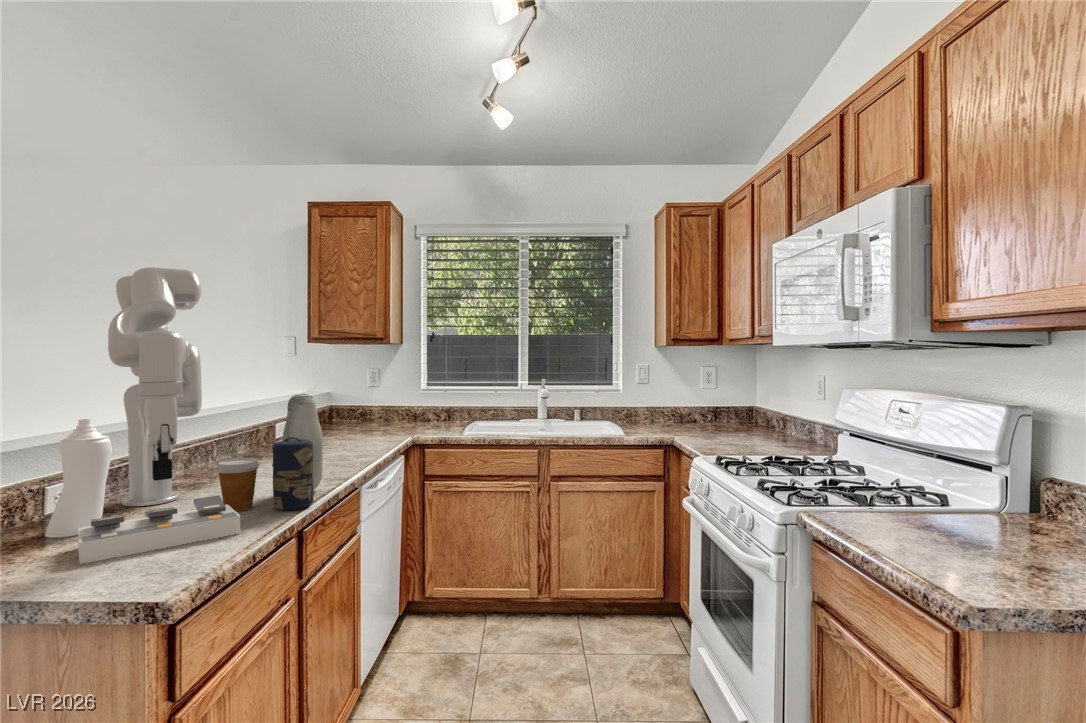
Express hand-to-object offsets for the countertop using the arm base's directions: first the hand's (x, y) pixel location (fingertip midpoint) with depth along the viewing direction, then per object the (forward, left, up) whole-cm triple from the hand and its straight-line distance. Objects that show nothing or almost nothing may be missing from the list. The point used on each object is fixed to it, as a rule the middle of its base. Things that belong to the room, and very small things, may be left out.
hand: (162, 478), depth 116 cm
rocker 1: (-3, -9, -8) cm, 12 cm away
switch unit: (-2, 0, -13) cm, 13 cm away
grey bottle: (-25, +36, -14) cm, 46 cm away
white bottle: (-22, -13, -14) cm, 29 cm away
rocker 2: (-3, +9, -8) cm, 12 cm away
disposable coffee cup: (-19, +18, -14) cm, 29 cm away
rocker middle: (-3, 0, -8) cm, 8 cm away
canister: (-11, +29, -14) cm, 34 cm away
